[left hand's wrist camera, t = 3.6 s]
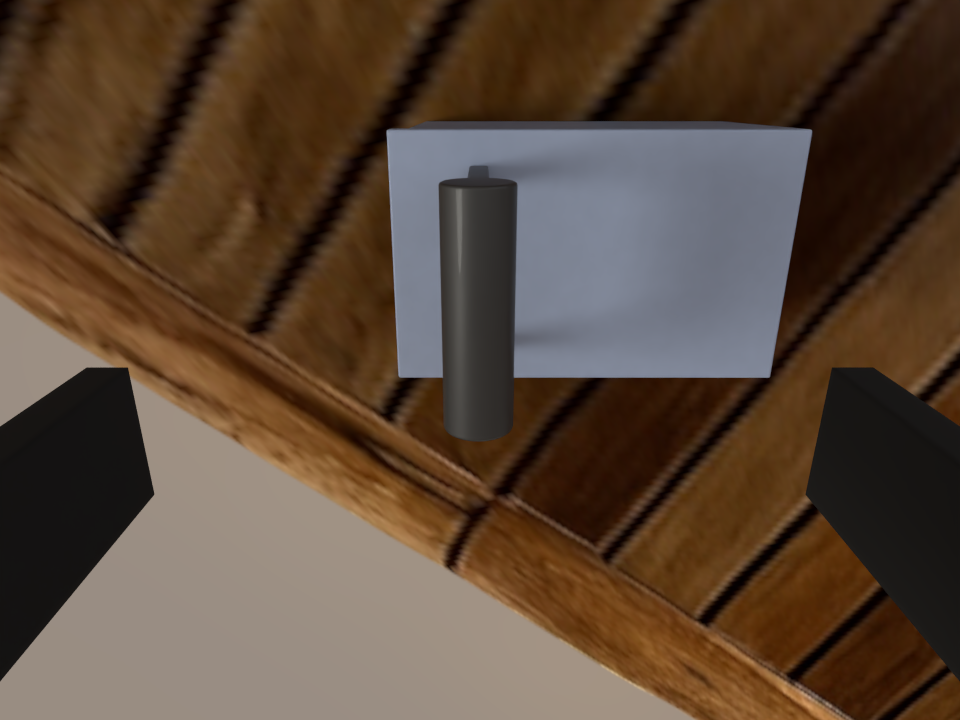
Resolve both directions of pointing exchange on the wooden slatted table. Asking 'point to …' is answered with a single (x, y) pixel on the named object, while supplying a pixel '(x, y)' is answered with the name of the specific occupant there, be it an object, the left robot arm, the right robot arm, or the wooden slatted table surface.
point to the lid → (587, 256)
